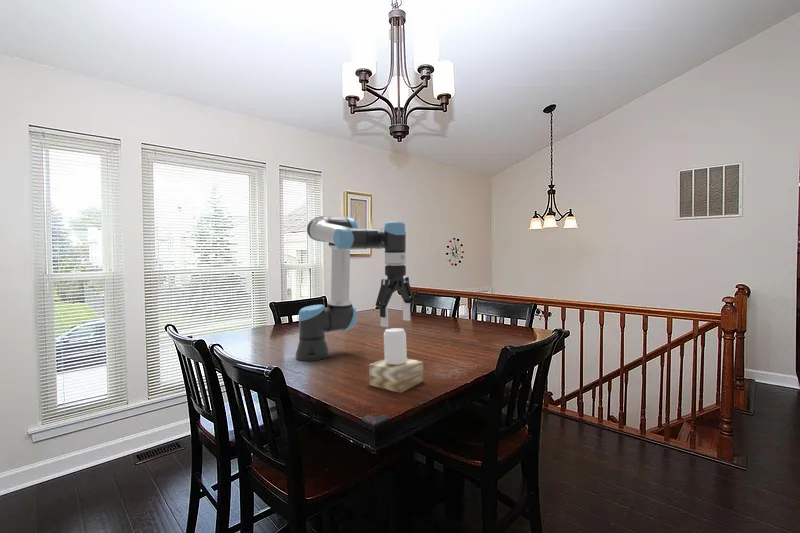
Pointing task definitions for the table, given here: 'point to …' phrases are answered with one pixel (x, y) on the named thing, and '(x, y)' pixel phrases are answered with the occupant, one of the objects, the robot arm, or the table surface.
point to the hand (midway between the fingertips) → (395, 323)
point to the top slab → (396, 370)
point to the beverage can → (395, 346)
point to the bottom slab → (395, 383)
